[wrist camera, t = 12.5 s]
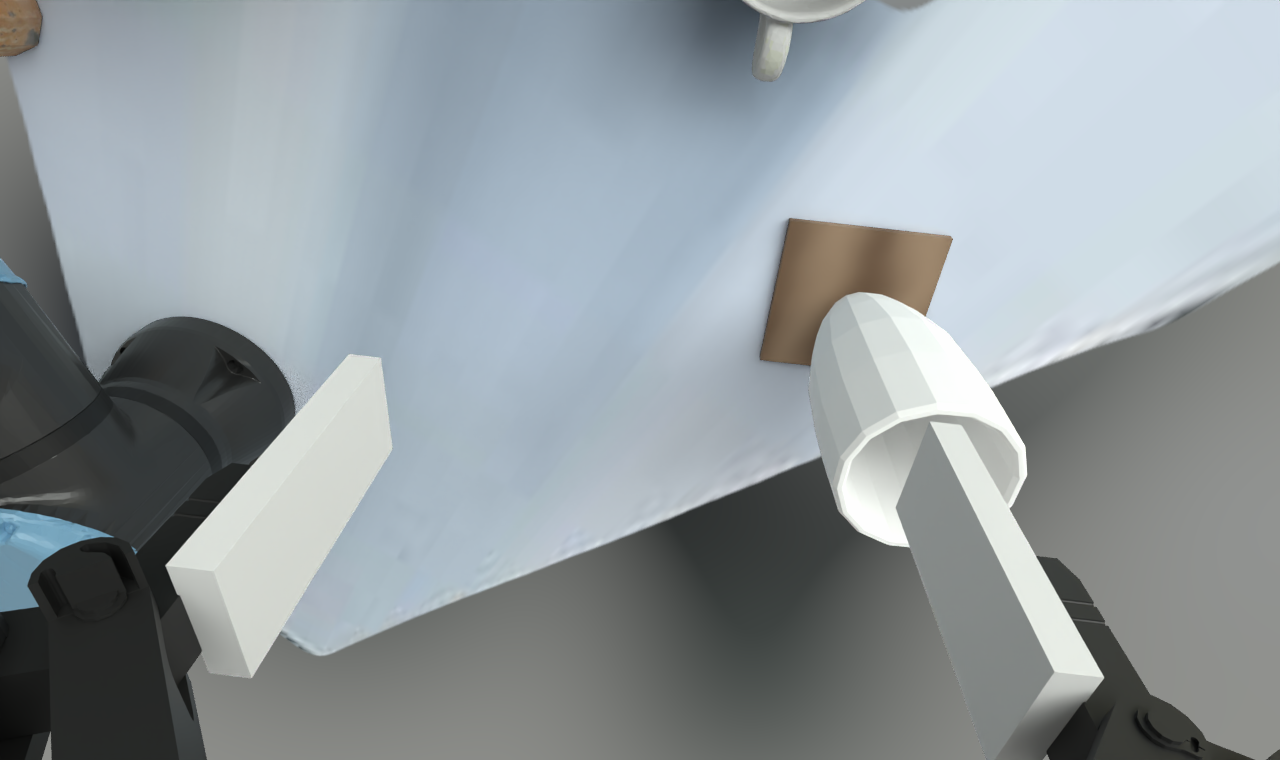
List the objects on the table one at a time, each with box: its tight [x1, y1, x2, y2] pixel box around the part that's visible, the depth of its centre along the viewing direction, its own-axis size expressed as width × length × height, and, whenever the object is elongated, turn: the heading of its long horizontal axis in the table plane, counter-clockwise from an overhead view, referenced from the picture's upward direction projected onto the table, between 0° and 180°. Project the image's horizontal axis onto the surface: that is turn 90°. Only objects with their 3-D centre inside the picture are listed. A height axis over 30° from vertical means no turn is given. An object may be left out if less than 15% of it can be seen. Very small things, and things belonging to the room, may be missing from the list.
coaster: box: [760, 218, 953, 366], centre depth 54 cm, size 12×12×1 cm
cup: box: [808, 292, 1027, 547], centre depth 44 cm, size 10×10×22 cm
